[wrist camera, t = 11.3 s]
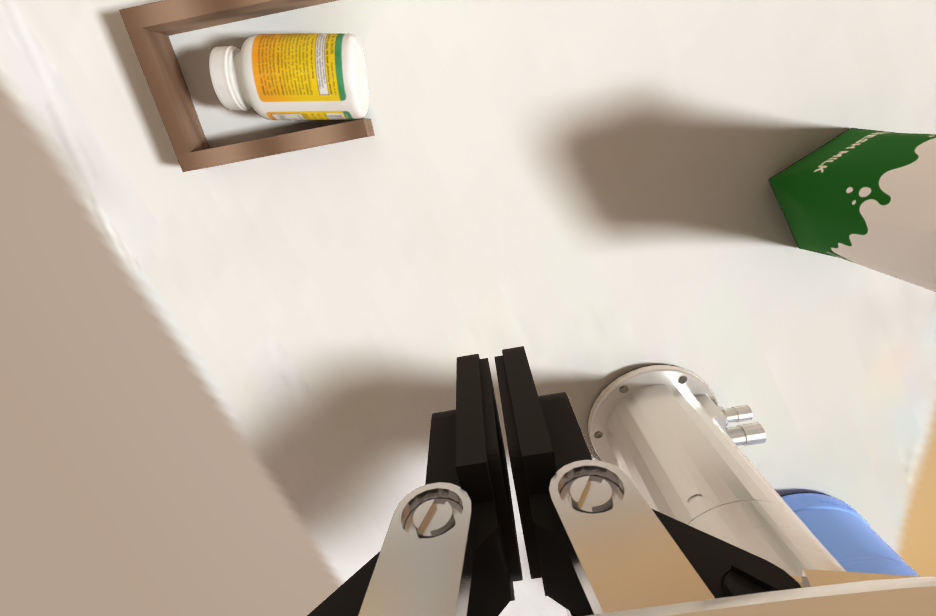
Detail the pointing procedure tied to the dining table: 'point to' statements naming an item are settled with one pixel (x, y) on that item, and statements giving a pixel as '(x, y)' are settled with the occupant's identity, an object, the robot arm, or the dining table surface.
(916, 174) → the milk carton
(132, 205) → the dining table surface
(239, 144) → the u rest
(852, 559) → the water jug
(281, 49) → the supplement bottle
